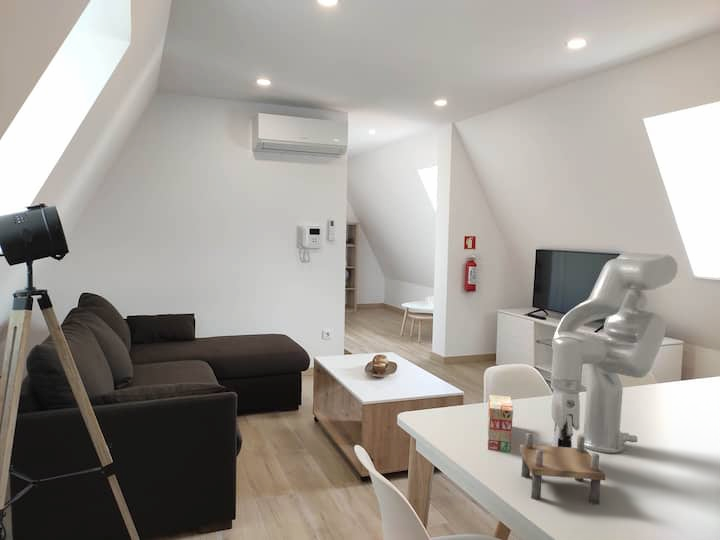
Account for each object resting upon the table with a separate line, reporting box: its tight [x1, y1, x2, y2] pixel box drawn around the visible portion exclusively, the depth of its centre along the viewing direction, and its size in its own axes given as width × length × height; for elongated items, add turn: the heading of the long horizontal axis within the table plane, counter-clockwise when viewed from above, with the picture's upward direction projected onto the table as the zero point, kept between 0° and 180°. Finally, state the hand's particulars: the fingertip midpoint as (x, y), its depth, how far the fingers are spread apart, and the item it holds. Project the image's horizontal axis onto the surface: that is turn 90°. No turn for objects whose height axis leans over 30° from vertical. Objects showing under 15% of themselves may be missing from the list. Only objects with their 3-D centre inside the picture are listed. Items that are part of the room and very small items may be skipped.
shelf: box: [519, 432, 607, 505], centre depth 127 cm, size 16×14×11 cm
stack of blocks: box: [487, 394, 514, 453], centre depth 159 cm, size 21×6×12 cm, turn 167°
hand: (561, 450), depth 143 cm, fingers closed on salt shaker, 3 cm apart
